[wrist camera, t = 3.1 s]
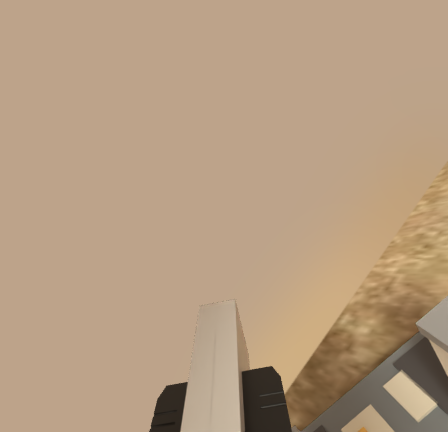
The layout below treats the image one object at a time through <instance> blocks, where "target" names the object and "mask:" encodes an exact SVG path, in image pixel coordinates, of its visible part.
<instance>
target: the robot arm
mask: <svg viewBox="0 0 448 432" xmlns="http://www.w3.org/2000/svg"><path fill="white" fill-rule="evenodd" d="M149 432H292V429H291V424H290V419H289V414H288V410H287V405H286V400H285V395H284V391H283V386H282V381H281V377H280V375H279V374H278V373H277V372H276V371H275V369H274V368H273V367H272V366H270V367H264V368H259V369H253V370H250V368H249V357H248V351H247V347H246V343H245V338H244V334H243V330H242V326H241V321H240V317H239V313H238V309H237V304H236V301H235V299H233V300H228V301H222V302H217V303H212V304H207V305H202V306H199V312H198V319H197V326H196V332H195V339H194V345H193V352H192V359H191V366H190V372H189V379H188V382H185V383H179V384H174V385H168V386H166V388H165V389H164V390H163V392H162V394H161V395H160V396H159V398H158V400H157V403H156V407H155V411H154V417H153V420H152V423H151V429H150V431H149Z"/></svg>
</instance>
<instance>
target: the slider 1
mask: <svg viewBox="0 0 448 432" xmlns="http://www.w3.org/2000/svg"><path fill="white" fill-rule="evenodd" d="M291 429H292V432H301V431H300V430H299V429H298V428H297V427H296V426H293V427H292V428H291Z"/></svg>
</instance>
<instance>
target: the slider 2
mask: <svg viewBox="0 0 448 432" xmlns="http://www.w3.org/2000/svg"><path fill="white" fill-rule="evenodd" d="M415 324H416V326H417V328H418V330H419V331H420V333H421V334H422V335H424V336H425V337H426V338H428V339H429V341H430V343H431V345H432V347H433V349H434V351H435V353H436V355H437V356H438V358H439V360H440V362H441V364H442V366H443V368H444V370H445V372H446V374H447V376H448V296H447V297H446V298H445V299H443V300H442V301H441V302H440V303H439V304H437V305H436V306H435V307H434V308H433V309H432V310H430V311H429V312H428V313H427V314H426V315H424V316H423V317H422V318H421V319H420V320H419V321H417V322H416V323H415Z"/></svg>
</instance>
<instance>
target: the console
mask: <svg viewBox="0 0 448 432" xmlns="http://www.w3.org/2000/svg"><path fill="white" fill-rule="evenodd" d="M301 432H448V376H447V374H446V372H445V370H444V368H443V366H442V364H441V362H440V360H439V358H438V356H437V355H436V353H435V351H434V349H433V347H432V345H431V343H430V341H429V339H428V338H426V337H425V336H424V335H422V334H421V333H420V331H419V332H418V333H416V334H415V335H414V336H413V337H412V338H411V339H409V340H408V341H407V342H406V343H405V344H404V345H402V346H401V347H400V348H399V349H398V350H396V351H395V352H394V353H393V354H392V355H391V356H389V357H388V358H387V359H386V360H385V361H384V362H382V363H381V364H380V365H379V366H378V367H376V368H375V369H374V370H373V371H372V372H371V373H369V374H368V375H367V376H366V377H365V378H364V379H362V380H361V381H360V382H359V383H358V384H356V385H355V386H354V387H353V388H352V389H351V390H349V391H348V392H347V393H346V394H345V395H344V396H342V397H341V398H340V399H339V400H338V401H336V402H335V403H334V404H333V405H332V406H331V407H329V408H328V409H327V410H326V411H325V412H323V413H322V414H321V415H320V416H319V417H318V418H316V419H315V420H314V421H313V422H312V423H311V424H309V425H308V426H307V427H306V428H305V429H303V430H302V431H301Z"/></svg>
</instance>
